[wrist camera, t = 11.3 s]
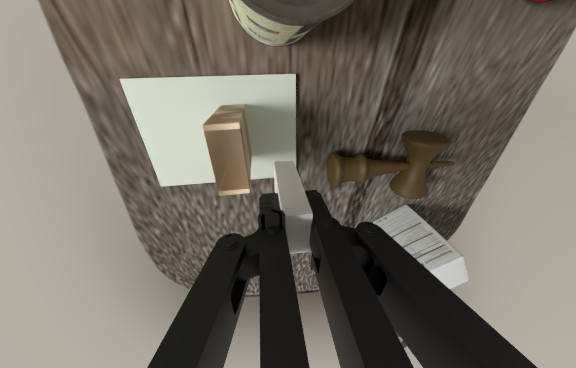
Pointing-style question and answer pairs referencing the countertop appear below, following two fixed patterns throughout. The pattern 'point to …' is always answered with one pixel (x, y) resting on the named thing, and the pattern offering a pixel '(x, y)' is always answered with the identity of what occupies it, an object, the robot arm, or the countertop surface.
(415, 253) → the supplement box
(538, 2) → the soda can
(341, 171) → the kendama
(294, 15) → the coffee can
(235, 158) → the maple slab
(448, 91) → the countertop surface
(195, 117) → the rubber mat
